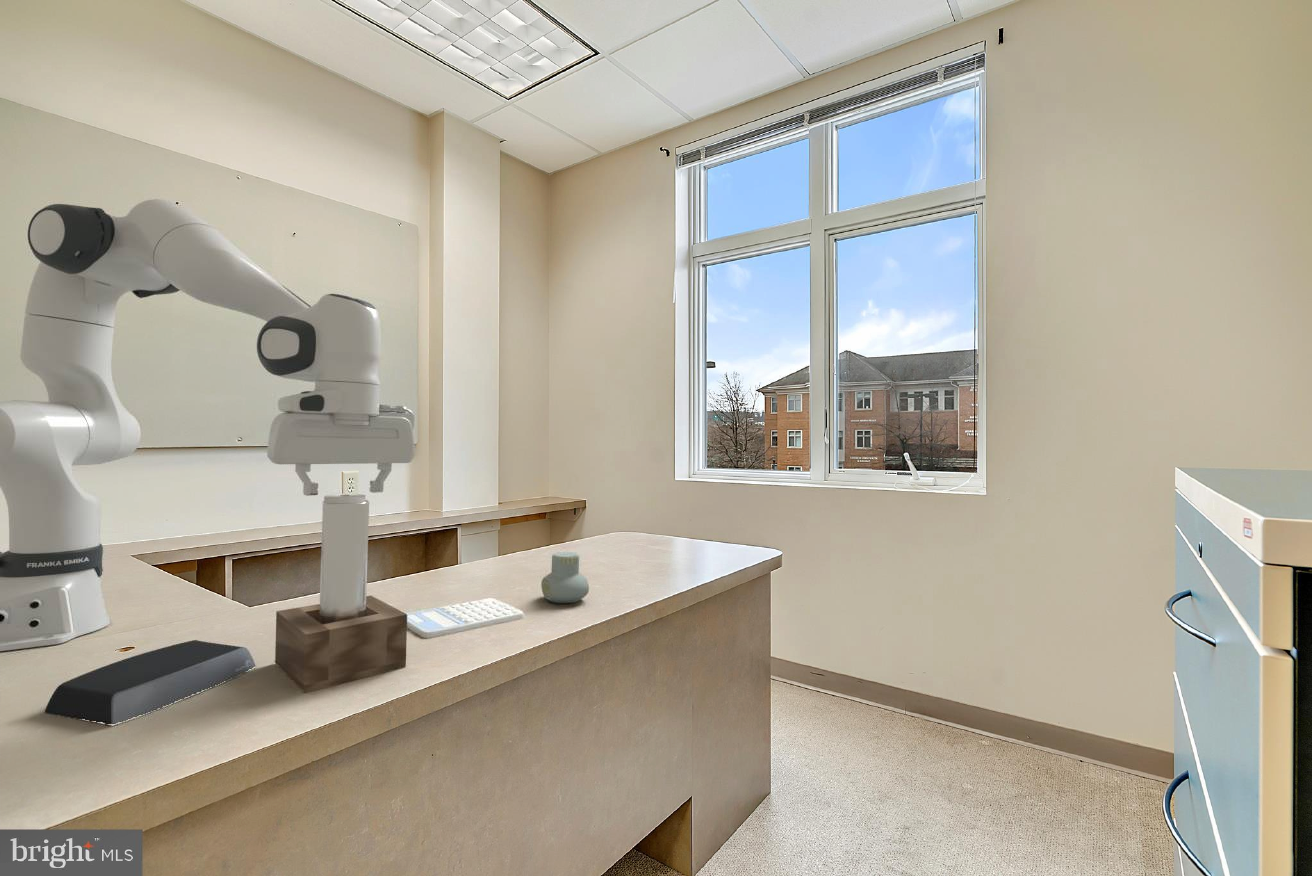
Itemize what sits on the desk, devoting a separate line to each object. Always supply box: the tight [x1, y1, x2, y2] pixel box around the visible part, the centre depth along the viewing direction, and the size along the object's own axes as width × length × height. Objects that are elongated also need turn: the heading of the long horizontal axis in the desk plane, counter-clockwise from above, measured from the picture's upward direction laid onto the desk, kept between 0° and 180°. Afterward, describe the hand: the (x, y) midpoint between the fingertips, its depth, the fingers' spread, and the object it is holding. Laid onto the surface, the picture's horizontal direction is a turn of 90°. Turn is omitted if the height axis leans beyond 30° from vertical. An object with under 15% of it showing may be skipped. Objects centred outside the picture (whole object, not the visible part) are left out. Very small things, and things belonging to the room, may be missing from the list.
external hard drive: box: [44, 639, 257, 724], centre depth 83 cm, size 13×19×4 cm
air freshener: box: [540, 551, 590, 604], centre depth 132 cm, size 11×8×10 cm
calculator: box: [404, 597, 525, 639], centre depth 117 cm, size 13×20×2 cm, turn 133°
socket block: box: [274, 595, 408, 693], centre depth 93 cm, size 14×14×8 cm
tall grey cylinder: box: [319, 493, 370, 624], centre depth 93 cm, size 6×6×25 cm
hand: (344, 493), depth 93 cm, fingers open, 8 cm apart
